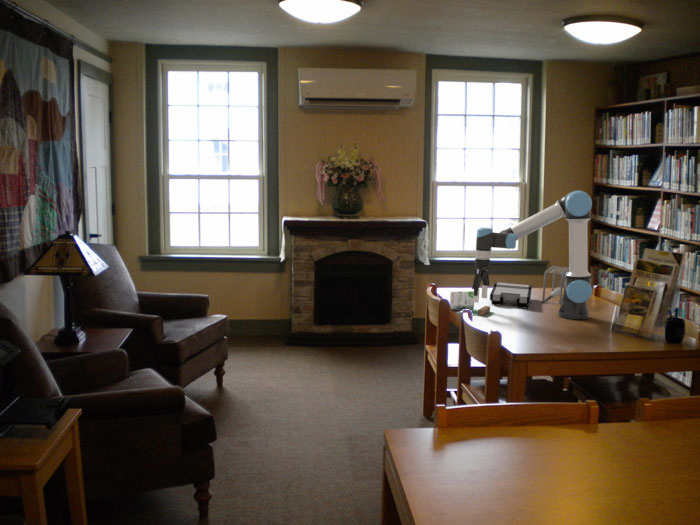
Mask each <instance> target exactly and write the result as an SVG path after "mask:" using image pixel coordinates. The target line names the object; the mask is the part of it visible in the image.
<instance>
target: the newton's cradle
mask: <svg viewBox="0 0 700 525" xmlns="http://www.w3.org/2000/svg"><path fill="white" fill-rule="evenodd" d="M557 269H558V266H557V265H553V266H551V267H549V268H548V269H547V270H545V271H544V275H543V285H542V286H543V288H542V303H552V304H553V303H554V304H560V305H561V304H562V302H563V292H564V280H565V274H566V272H569V268H568V267H564V266H559V270H560V272H556V271H557ZM548 273H550V274H552V275H551V276H552V282H551V283H552V285H551V286H552V287H551V293H550V294H549V295H548V296H547V297H546V298H545V295H546V287H547V286H546V285H547V275H548ZM558 274H559V275H558ZM558 296H559V301H558V302H556V301H549V299H550V298H553V299H556V298H557V297H558ZM549 297H550V298H549Z"/></svg>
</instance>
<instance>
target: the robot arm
mask: <svg viewBox="0 0 700 525" xmlns="http://www.w3.org/2000/svg"><path fill="white" fill-rule="evenodd" d="M592 205H593V200H592V198H591V196H590V195H589V194H588V193H587V192H586V191H583V190H580V189H577V190H572V191H570V192H568V193H567V194H566V195H564V196H563V197H561V198H560V199H558V200H556V202H555V203H554V204H552V205H550V206H548V207H546V208H544V209H542V210H540V211H538V212H537V213H535V214H533V215H531V216H529V217H527V218H525V219H523V220H521V221H519V222H518V223H515V224H514V225H511V226H510V227H508V228H506V229H503V230H501V231H500V232H493V229H492V228H491V227H479V228H478V229H477V231H476V240H475V241H476V244H475V251H474V254H475V259H474V265H475V267H477V268H475V273H474V278H473V282H472V287H471V290H473V292H474V293H473V302H474V303H478V304H479V300H480V298H481V299H487V298H488V287H489V286H490V274H489V268H490V266H491V259H492V258H491V257H492V256H491V255H492V248H493V249H495V248H498V249H508V250H511V249H512V250H514V249H516V247H517V241H518V240H520V239H522V238H525V237H526V236H528V235H530V234H532V233H534V232H536V231H538V230H539V229H542V228H543V227H545V226H547V225H549V224H550V225H551V224H552V223H553V222H556V221H558V220H559V219H561V218H565V220H566V221H567V223H568V269H569V271H568V272H566V273H565V274H564V282H563V293H562V295H563V296H562V300H563V302H562V304H560V307H559V309H558V312H557V314H558V315H559V317H560V316H561V318H563V317H564V318H563V319H567V318H570V319H569V320H574V319H586V320H588V319H587V318H589V319H590V312H589V307H588V303H587V302H588V300H589V299H590V298H591V297H592V294H593V288H592V274H591V273H590V272H589V271H588V268H589V266H588V265H589V264H588V262H589V261H588V258H589V257H588V249H589V248H588V246H589V245H588V243H589V242H588V222H590V220H591V219H592V211H591V210H592V207H593V206H592ZM481 282H482V285H481ZM480 286H481V296H480ZM558 315H557V316H558Z"/></svg>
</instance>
